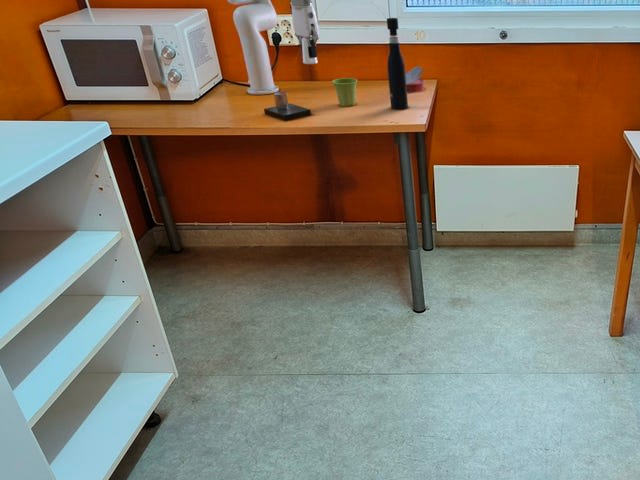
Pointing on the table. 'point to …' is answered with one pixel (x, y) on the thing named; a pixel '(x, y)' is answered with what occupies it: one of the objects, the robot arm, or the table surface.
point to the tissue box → (414, 80)
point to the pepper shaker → (305, 53)
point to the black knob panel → (288, 112)
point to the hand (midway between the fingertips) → (309, 56)
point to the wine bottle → (396, 69)
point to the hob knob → (281, 100)
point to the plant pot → (346, 91)
